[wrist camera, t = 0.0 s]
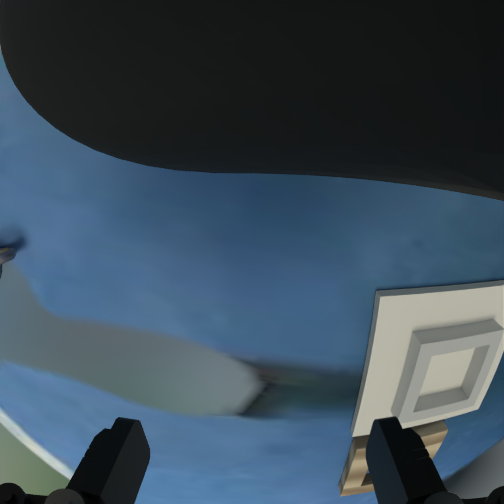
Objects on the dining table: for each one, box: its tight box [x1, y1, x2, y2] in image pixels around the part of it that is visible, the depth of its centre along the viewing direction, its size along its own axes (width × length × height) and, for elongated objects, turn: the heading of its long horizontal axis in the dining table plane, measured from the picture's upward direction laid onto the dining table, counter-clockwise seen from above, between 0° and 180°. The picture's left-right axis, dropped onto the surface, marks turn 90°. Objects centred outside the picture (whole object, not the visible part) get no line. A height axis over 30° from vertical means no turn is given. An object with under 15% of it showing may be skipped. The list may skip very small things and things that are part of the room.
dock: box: [350, 280, 504, 437], centre depth 27 cm, size 18×18×3 cm
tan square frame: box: [339, 420, 448, 496], centre depth 33 cm, size 13×13×2 cm
